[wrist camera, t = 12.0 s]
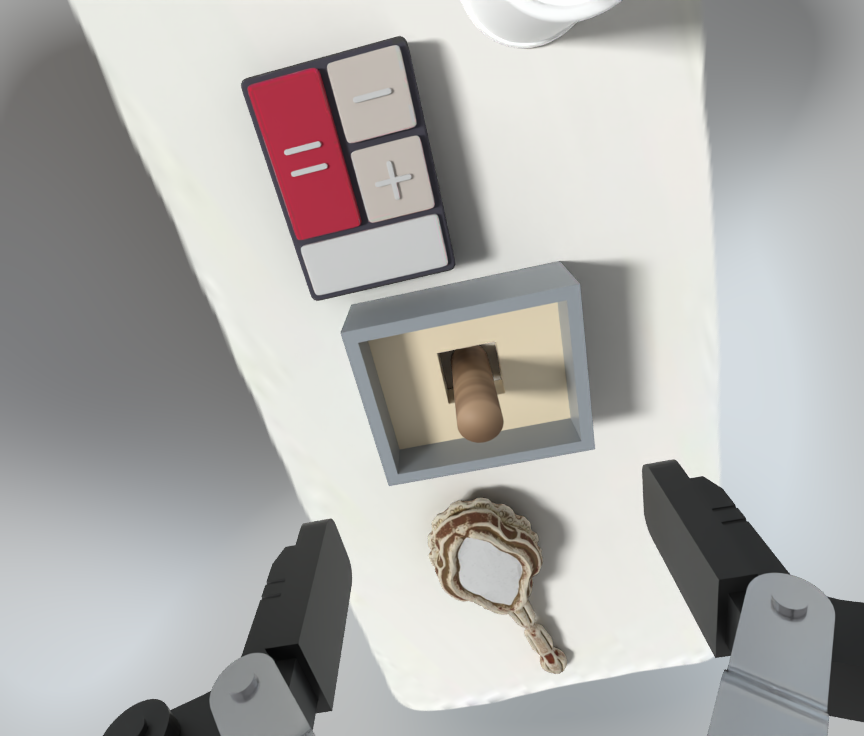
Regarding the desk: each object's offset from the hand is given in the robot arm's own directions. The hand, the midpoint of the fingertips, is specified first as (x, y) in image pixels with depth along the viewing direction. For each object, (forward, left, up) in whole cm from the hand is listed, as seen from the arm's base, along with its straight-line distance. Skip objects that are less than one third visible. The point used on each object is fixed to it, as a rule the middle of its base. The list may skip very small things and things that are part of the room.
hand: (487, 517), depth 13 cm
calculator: (-6, -5, -31) cm, 32 cm away
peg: (+10, 0, -30) cm, 32 cm away
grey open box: (+10, 0, -30) cm, 32 cm away
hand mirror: (+38, 0, -30) cm, 49 cm away
